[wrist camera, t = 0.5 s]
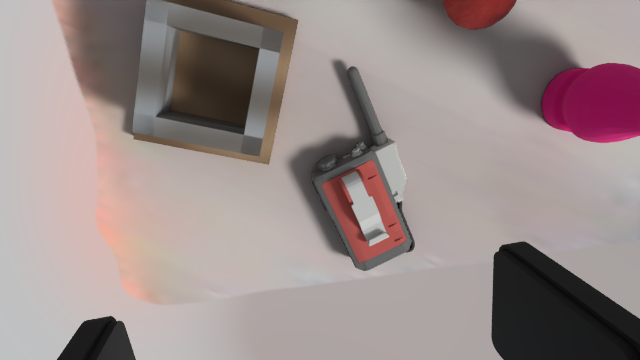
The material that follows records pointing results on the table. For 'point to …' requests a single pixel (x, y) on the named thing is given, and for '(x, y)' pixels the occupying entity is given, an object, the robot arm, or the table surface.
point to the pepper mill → (595, 102)
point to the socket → (212, 77)
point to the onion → (477, 12)
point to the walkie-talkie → (366, 193)
